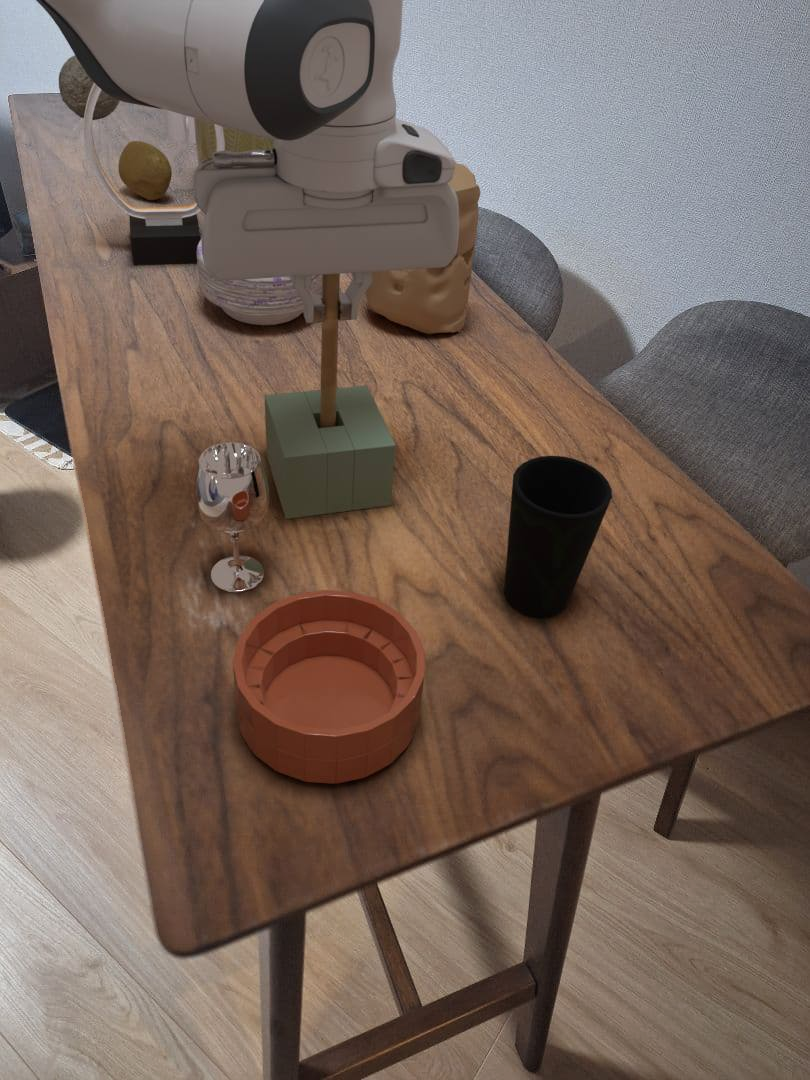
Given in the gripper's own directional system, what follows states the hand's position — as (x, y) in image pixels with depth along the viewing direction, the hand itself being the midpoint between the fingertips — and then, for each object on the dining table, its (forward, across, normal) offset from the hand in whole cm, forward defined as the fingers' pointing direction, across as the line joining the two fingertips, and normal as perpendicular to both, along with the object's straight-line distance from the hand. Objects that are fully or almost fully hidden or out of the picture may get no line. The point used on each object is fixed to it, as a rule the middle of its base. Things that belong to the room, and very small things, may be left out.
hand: (330, 318), depth 77 cm
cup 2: (+17, +14, -19) cm, 29 cm away
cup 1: (+17, -2, +96) cm, 98 cm away
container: (+17, +18, +30) cm, 39 cm away
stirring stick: (+17, 0, 0) cm, 17 cm away
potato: (+17, -11, +71) cm, 74 cm away
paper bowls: (+17, 0, +35) cm, 39 cm away
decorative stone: (+17, -17, +107) cm, 110 cm away
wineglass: (+17, -10, -11) cm, 23 cm away
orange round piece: (+17, -6, -27) cm, 33 cm away
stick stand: (+17, 0, 0) cm, 17 cm away
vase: (+17, +5, +69) cm, 71 cm away
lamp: (+17, -10, +53) cm, 57 cm away
